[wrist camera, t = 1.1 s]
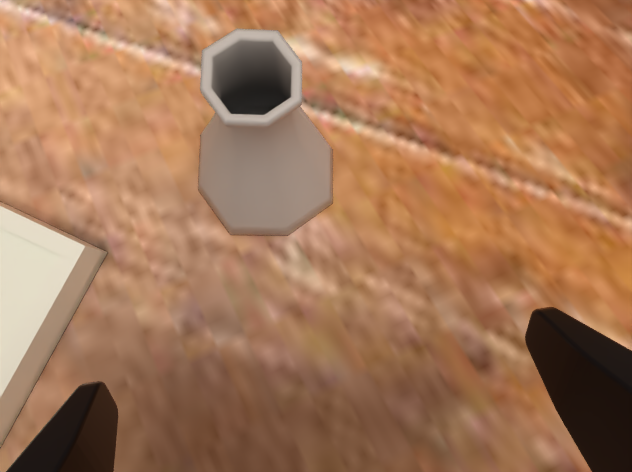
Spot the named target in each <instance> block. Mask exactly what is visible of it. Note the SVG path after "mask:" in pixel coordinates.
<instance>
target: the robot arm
mask: <svg viewBox="0 0 632 472" xmlns="http://www.w3.org/2000/svg"><path fill="white" fill-rule="evenodd" d="M525 340H526V345H527V347H528V350H529V352H530V354H531V356H532V358H533V361H534V363H535V365H536V367H537V369H538V372H539V374H540V376H541V378H542V380H543V383H544V385H545V387H546V389H547V391H548V394H549V396H550V398H551V400H552V402H553V404H554V406H555V408H556V410H557V412H558V414H559V416H560V418H561V419H562V421H563V423H564V425H565V426H566V428H567V430H568V431H569V433H570V435H571V437H572V438H573V440H574V442H575V443H576V445H577V447H578V449H579V450H580V452H581V454H582V455H583V457H584V459H585V460H586V462H587V464H588V466H589V467H590V469H591V471H592V472H632V351H631V350H629V349H627V348H626V347H624V346H622V345H620V344H619V343H617V342H615V341H613V340H612V339H610V338H608V337H606V336H604V335H603V334H601V333H599V332H597V331H596V330H594V329H592V328H590V327H589V326H587V325H585V324H583V323H581V322H580V321H578V320H576V319H574V318H573V317H571V316H569V315H567V314H566V313H564V312H562V311H560V310H558V309H556V308H554V307H546V308H540V309H536V310H534V311H533V312H532V314H531V317H530V321H529V324H528V328H527V331H526V335H525ZM117 423H118V409H117V405H116V403H115V401H114V399H113V398H112V396H111V394H110V392H109V390H108V388H107V387H106V385H105V383H103V382H101V381H98V382H92V383H86V384H82V385H80V386H79V387H78V388H77V389H76V390H75V391H74V392H73V393H72V395H71V396H70V397H69V398H68V399H67V400H66V402H65V403H64V404H63V405H62V406H61V408H60V409H59V410H58V411H57V412H56V413H55V415H54V416H53V417H52V418H51V419H50V420H49V422H48V423H47V424H46V425H45V426H44V428H43V429H42V430H41V431H40V432H39V433H38V435H37V436H36V437H35V438H34V439H33V440H32V442H31V443H30V444H29V445H28V446H27V447H26V449H25V450H24V451H23V452H22V453H21V455H20V456H19V457H18V458H17V459H16V460H15V462H14V463H13V464H12V465H11V466H10V467H9V469H8V470H7V471H6V472H113V471H114V459H115V447H116V435H117Z"/></svg>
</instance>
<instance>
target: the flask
mask: <svg viewBox="0 0 632 472" xmlns="http://www.w3.org/2000/svg"><path fill="white" fill-rule="evenodd" d="M200 91H201V93H202V95H203V96H204V98H205V99H206V100H207V102H208V103H209V104H210V106H211V107H212V108H213V110H214V111H215V114H214V116H213V118H212V119H211V121H210V122H209V124H208V125H207V126H206V128H205V129H204V130H203V132H202V133H201V135H200V154H199V175H198V190H199V192H200V193H201V194H202V196H203V197H204V199H205V200H206V201H207V203H208V204H209V206H210V207H211V208H212V210H213V211H214V212H215V214H216V215H217V217H218V218H219V219H220V221H221V222H222V224H223V225H224V226H225V228H226V229H227V230H228V232H229V233H230V235H287V236H288V235H289V234H290V233H292V232H293V231H295V230H296V229H297V228H299V227H300V226H302V225H303V224H304V223H306V222H307V221H309V220H310V219H311V218H313V217H314V216H316V215H317V214H318V213H320V212H321V211H323V210H324V209H325V208H327V207H328V206H330V205H331V204H332V203H333V149H332V148H331V146H330V145H329V144H328V142H327V141H326V140H325V139H324V137H323V136H322V135H321V133H320V132H319V131H318V129H317V128H316V127H315V125H314V124H313V123H312V121H311V120H310V119H309V117H308V116H307V115H306V113H305V112H304V111H303V110H302V108H301V107H300V106H301V105H302V61H301V60H300V59H299V58H298V56H297V55H296V54H295V52H294V51H293V50H292V48H291V47H290V46H289V44H288V43H287V42H286V41H285V39H284V38H283V37H282V35H281V34H280V33H279V31H278V30H255V29H235V30H234V31H232V32H230V33H229V34H227V35H226V36H224V37H222V38H221V39H219V40H218V41H216V42H214V43H213V44H211V45H210V46H208V47H206V48H205V49H203V50H202V62H201V83H200Z"/></svg>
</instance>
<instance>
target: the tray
mask: <svg viewBox="0 0 632 472" xmlns="http://www.w3.org/2000/svg"><path fill="white" fill-rule="evenodd" d="M107 253H108V252H106V251H104V250H102V249H100V248H98V247H96V246H93V245H91V244H89V243H87V242H85V241H83V240H81V239H79V238H76V237H74V236H72V235H70V234H68V233H66V232H64V231H62V230H60V229H57V228H55V227H53V226H51V225H49V224H47V223H45V222H43V221H41V220H38V219H36V218H34V217H32V216H30V215H28V214H26V213H24V212H21V211H19V210H17V209H15V208H13V207H11V206H9V205H7V204H5V203H2V202H0V447H1V446H2V444H3V442H4V440H5V438H6V437H7V435H8V433H9V431H10V429H11V427H12V426H13V424H14V422H15V420H16V418H17V417H18V415H19V413H20V411H21V409H22V407H23V406H24V404H25V402H26V400H27V398H28V397H29V395H30V393H31V391H32V389H33V387H34V386H35V384H36V382H37V380H38V378H39V377H40V375H41V373H42V371H43V369H44V367H45V366H46V364H47V362H48V360H49V358H50V357H51V355H52V353H53V351H54V349H55V347H56V346H57V344H58V342H59V340H60V338H61V336H62V335H63V333H64V331H65V329H66V327H67V326H68V324H69V322H70V320H71V318H72V316H73V315H74V313H75V311H76V309H77V307H78V306H79V304H80V302H81V300H82V298H83V296H84V295H85V293H86V291H87V289H88V287H89V286H90V284H91V282H92V280H93V278H94V276H95V275H96V273H97V271H98V269H99V267H100V266H101V264H102V262H103V260H104V258H105V256H106V255H107Z"/></svg>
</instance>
